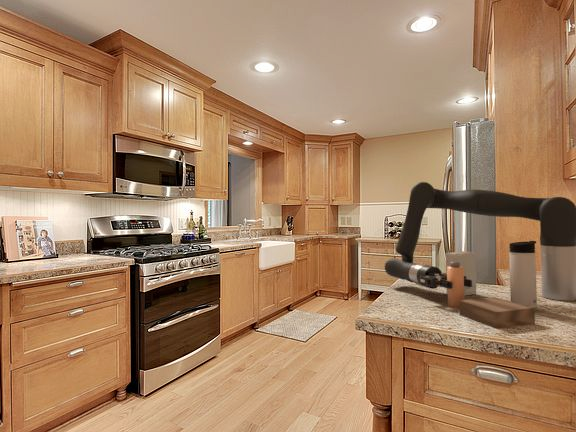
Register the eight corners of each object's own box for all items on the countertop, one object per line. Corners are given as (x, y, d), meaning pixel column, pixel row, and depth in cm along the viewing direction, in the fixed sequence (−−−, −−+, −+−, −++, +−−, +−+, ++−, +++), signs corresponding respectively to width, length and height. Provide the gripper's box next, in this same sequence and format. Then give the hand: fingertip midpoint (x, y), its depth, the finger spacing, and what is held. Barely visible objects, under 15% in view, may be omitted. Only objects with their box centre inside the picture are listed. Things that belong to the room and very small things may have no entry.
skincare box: (463, 291, 119) (462, 250, 120) (477, 294, 114) (476, 252, 114) (445, 293, 117) (444, 252, 117) (459, 297, 111) (458, 253, 111)
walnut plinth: (494, 310, 94) (493, 297, 94) (534, 323, 82) (534, 307, 83) (459, 314, 91) (459, 300, 91) (496, 328, 80) (496, 312, 80)
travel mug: (543, 312, 92) (541, 241, 92) (517, 311, 93) (515, 241, 93) (531, 306, 98) (529, 240, 98) (507, 305, 99) (505, 240, 100)
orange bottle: (456, 303, 103) (455, 260, 103) (468, 307, 99) (466, 262, 99) (444, 304, 102) (443, 261, 102) (455, 308, 98) (454, 263, 98)
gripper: (407, 266, 113) (440, 273, 96) (442, 263, 116) (480, 270, 100) (407, 287, 112) (441, 298, 96) (442, 284, 116) (481, 295, 100)
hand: (461, 284), depth 98 cm, fingers open, 6 cm apart
